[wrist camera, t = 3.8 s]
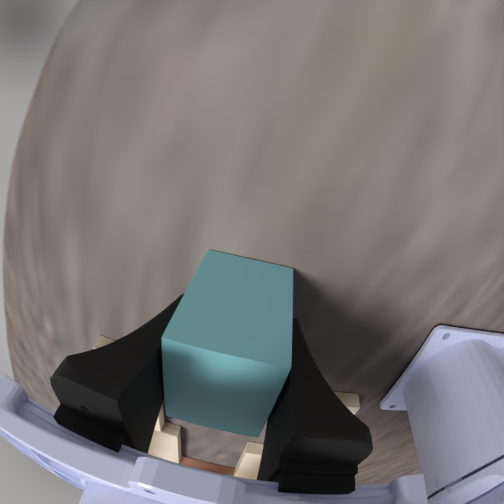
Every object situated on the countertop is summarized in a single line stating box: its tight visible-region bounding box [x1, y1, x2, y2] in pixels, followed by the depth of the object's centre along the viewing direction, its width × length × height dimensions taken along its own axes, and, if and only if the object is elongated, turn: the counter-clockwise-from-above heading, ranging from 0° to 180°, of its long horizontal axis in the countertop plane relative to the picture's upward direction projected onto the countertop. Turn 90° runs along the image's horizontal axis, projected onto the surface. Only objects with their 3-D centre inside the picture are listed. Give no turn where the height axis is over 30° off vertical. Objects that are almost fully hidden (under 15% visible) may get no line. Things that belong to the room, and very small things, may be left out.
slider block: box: [162, 250, 293, 437], centre depth 12 cm, size 4×5×6 cm
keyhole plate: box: [93, 336, 360, 480], centre depth 21 cm, size 18×20×2 cm
